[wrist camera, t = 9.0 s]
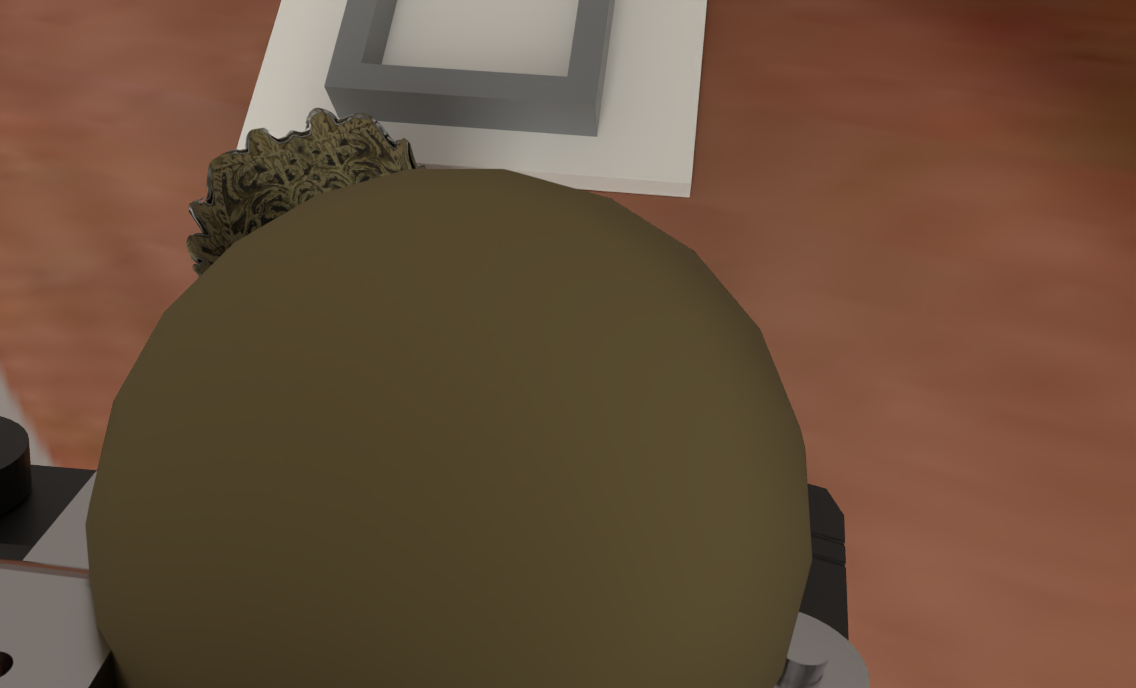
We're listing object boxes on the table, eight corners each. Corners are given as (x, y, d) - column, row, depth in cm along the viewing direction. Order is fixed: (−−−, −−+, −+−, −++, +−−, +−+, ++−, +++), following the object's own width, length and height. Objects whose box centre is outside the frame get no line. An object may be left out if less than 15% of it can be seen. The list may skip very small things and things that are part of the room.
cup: (295, 440, 34) (203, 357, 26) (259, 266, 36) (167, 147, 29) (495, 378, 34) (460, 279, 27) (444, 211, 37) (399, 80, 29)
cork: (322, 545, 16) (-163, 237, 6) (631, 401, 17) (640, -82, 7) (451, 907, 14) (22, 1326, 4) (801, 724, 15) (1175, 696, 5)
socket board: (712, -74, 42) (719, -131, 39) (689, 197, 36) (694, 153, 34) (321, -93, 43) (301, -150, 41) (246, 163, 38) (216, 118, 35)
